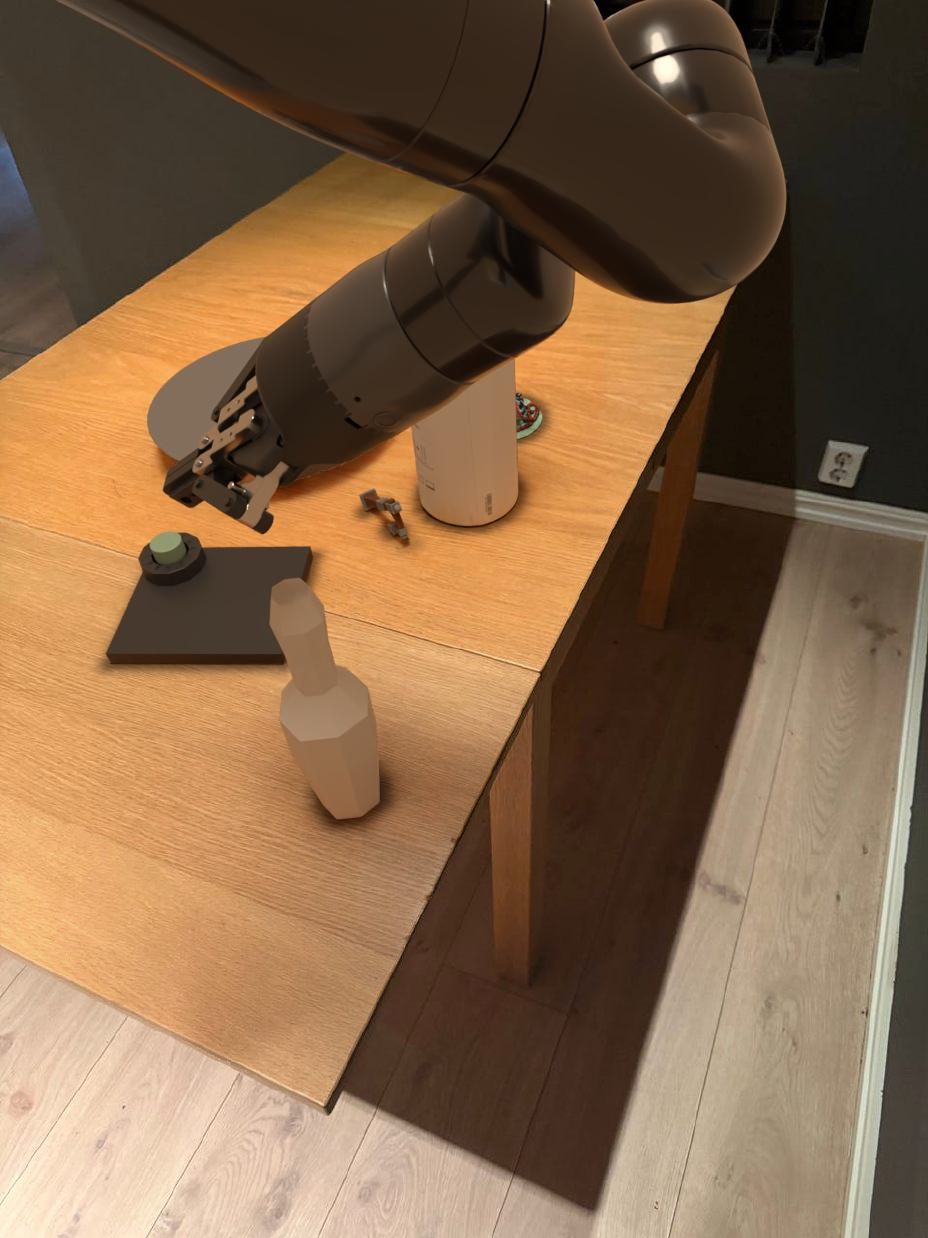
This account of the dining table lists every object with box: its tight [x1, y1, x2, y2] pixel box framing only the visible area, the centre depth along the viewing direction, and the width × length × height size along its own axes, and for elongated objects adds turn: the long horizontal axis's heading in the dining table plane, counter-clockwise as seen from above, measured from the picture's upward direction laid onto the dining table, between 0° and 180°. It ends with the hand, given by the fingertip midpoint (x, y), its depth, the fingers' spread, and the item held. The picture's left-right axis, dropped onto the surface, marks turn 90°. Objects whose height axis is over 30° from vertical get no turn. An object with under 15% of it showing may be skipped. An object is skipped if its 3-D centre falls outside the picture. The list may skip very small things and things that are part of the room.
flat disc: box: [146, 335, 343, 480], centre depth 101 cm, size 28×28×4 cm
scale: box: [105, 531, 314, 665], centre depth 82 cm, size 16×14×3 cm
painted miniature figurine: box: [516, 392, 543, 440], centre depth 101 cm, size 8×7×8 cm
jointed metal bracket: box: [358, 487, 410, 543], centre depth 89 cm, size 2×8×4 cm, turn 32°
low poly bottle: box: [270, 578, 381, 820], centre depth 60 cm, size 6×6×22 cm
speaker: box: [410, 358, 519, 527], centre depth 83 cm, size 11×10×26 cm
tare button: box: [149, 530, 187, 565], centre depth 84 cm, size 3×3×2 cm
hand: (178, 490), depth 54 cm, fingers closed
